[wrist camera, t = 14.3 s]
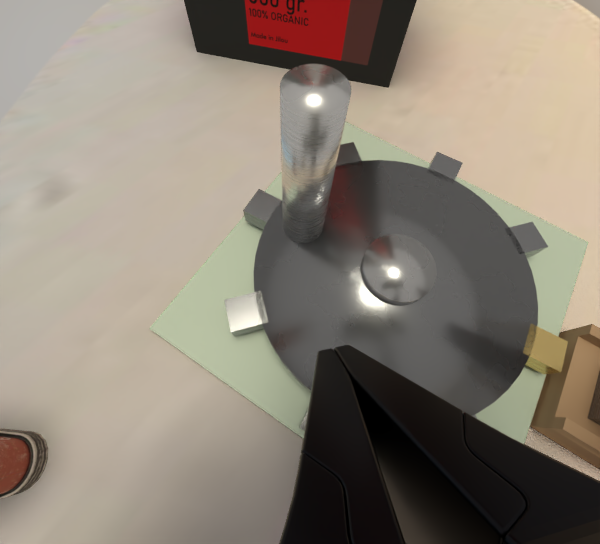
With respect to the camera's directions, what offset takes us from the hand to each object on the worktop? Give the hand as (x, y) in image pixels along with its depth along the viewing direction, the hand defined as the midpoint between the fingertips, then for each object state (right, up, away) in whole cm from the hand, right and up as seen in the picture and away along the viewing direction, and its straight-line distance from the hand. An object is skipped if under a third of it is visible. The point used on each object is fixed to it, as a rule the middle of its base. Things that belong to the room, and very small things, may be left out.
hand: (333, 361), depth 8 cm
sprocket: (+4, +2, +12) cm, 13 cm away
